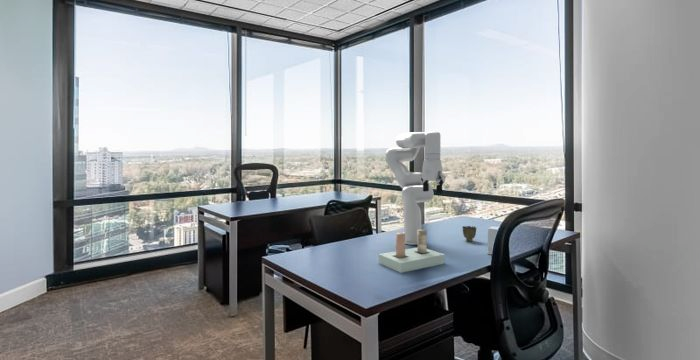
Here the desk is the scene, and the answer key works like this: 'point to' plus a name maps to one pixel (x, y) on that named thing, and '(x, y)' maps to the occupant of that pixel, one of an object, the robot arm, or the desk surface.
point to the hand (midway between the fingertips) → (432, 192)
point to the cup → (469, 233)
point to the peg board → (411, 260)
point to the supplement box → (491, 237)
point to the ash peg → (422, 241)
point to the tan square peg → (400, 245)
